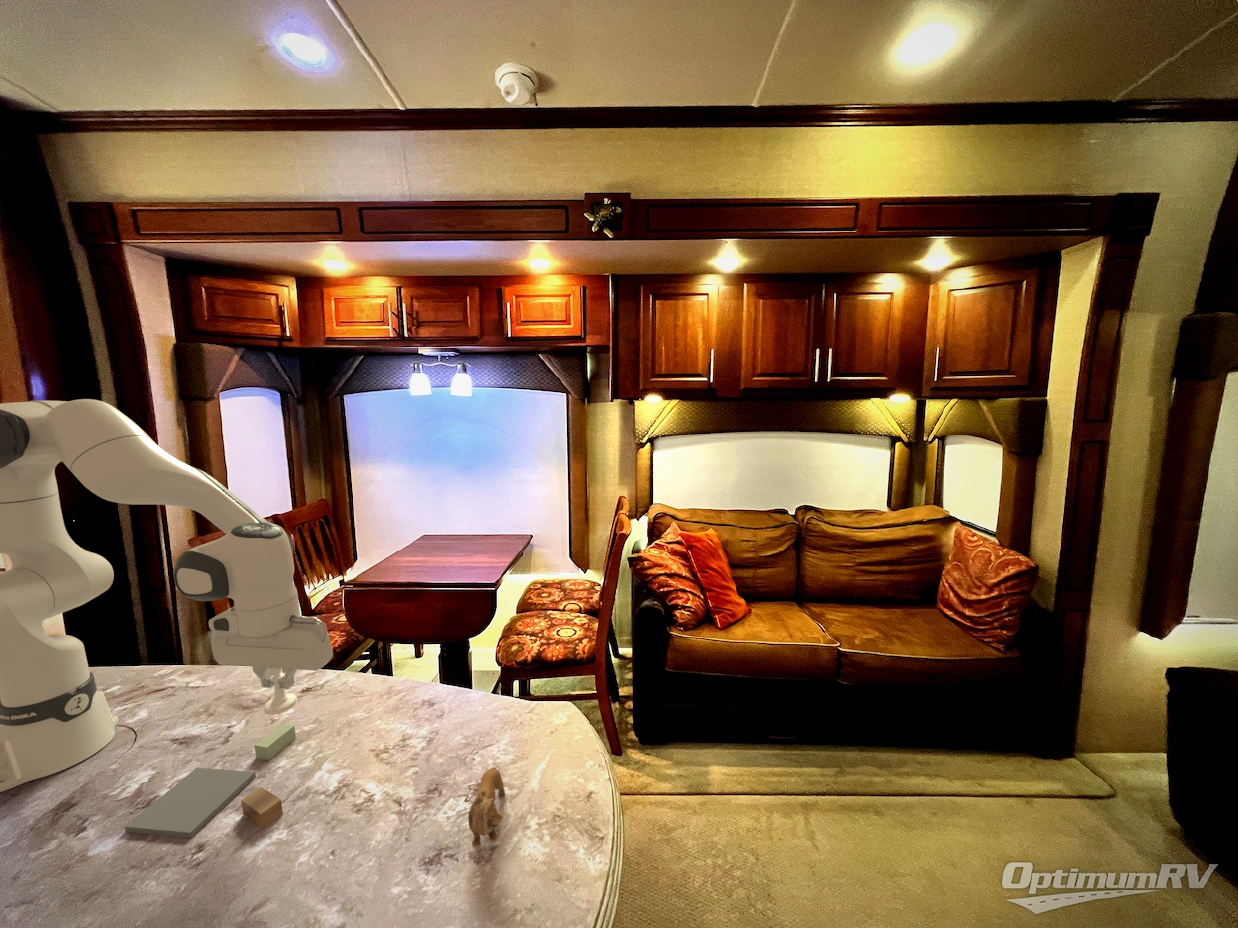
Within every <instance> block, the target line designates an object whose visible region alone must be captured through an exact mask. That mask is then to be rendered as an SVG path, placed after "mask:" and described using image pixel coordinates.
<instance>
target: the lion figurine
mask: <svg viewBox="0 0 1238 928" xmlns="http://www.w3.org/2000/svg"><path fill="white" fill-rule="evenodd" d="M496 790H498V792H497V795H498V797H500V796H501V797H503V796H504V795H505V789H504V782H503V778H502V775H501V773H500V770H499V769H497V768H496V767H491V768H489V769H487V770H486V771H485V772H484V773H483V774H482V777H481V780H480V786H479V789H478V791H477V794H476V797H475V799H474V801H472V804H471V805H470V808H469V811H468V827H469V829H470V831H471V832H472V835H473V839H472V841H471V844H472V846H473V847H477V846H479V845H480V843H481V836H482V837H484V836H486V835H488V837H489V840H490V841H491V842H493V841H495V840H497V838H498V836H499V835H498V834H497V831H496V828H499V826H500V823H501V821H502V820H503V819H504V816H503V814H501V813H500V812H498V810H497V807H496V804H495V801H496Z"/></svg>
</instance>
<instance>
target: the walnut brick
mask: <svg viewBox="0 0 1238 928" xmlns="http://www.w3.org/2000/svg"><path fill="white" fill-rule="evenodd" d="M241 808H242V814H243V815H244V816H245V817H246V818H248V819H249V820H250V821H252V822H253V823H255V824H256V825H257V826H259V827H260V828H262V829H265V828H266V827H267V826H269V825H271V823H273V822H274V821H276V820H277V819H278V818H279V817H281V816H283V814H284V812H283V805H282V800H281V798H279V797H278V796H276V795H275V794H273V793H271V792H270V791H269V790H267V789H266V788H264V787H262V786H260V787H258V788H257V789H256V790H255V789H254V791H253V792H251V793H250V794H248V795H247V796H245V797H243V798H242V799H241Z"/></svg>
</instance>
